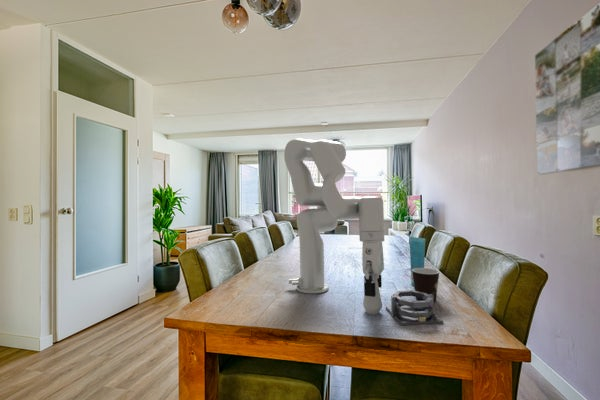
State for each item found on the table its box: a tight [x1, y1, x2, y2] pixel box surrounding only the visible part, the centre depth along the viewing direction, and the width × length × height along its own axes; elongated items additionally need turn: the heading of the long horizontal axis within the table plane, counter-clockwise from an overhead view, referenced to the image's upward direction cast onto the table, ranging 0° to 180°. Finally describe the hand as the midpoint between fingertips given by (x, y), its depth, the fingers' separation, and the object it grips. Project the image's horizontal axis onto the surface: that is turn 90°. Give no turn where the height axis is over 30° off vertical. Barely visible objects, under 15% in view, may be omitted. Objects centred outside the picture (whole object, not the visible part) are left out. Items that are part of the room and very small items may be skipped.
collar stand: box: [385, 290, 444, 326], centre depth 86 cm, size 13×12×6 cm
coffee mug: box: [412, 267, 440, 303], centre depth 100 cm, size 12×9×10 cm
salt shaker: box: [362, 274, 383, 316], centre depth 89 cm, size 6×6×13 cm
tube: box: [408, 236, 427, 286], centre depth 116 cm, size 7×5×19 cm, turn 39°
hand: (373, 291), depth 89 cm, fingers open, 9 cm apart
